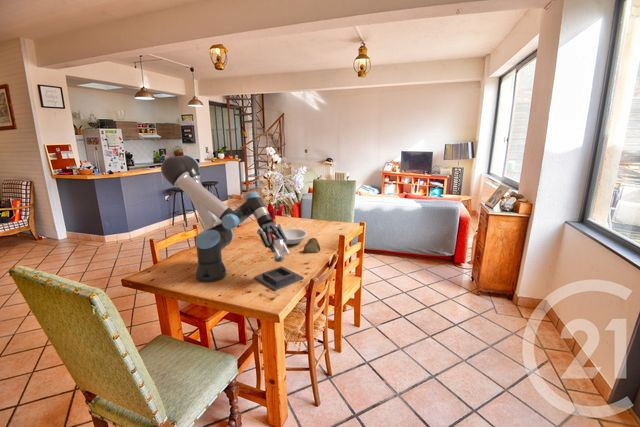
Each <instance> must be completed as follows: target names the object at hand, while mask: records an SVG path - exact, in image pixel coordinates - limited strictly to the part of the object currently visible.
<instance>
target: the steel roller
mask: <svg viewBox="0 0 640 427" xmlns="http://www.w3.org/2000/svg"><path fill="white" fill-rule="evenodd" d="M272 243H273V245H275V247H276V249H277V250H278V252H279V254H280V257H279V258H278V259H277V258H276V256H275V254H274V253H273V261H274V262H277V263H282V262H284V260H285V253H284V244H283V238H275V237H274V238H273V240H272Z"/></svg>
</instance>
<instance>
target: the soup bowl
mask: <svg viewBox="0 0 640 427" xmlns="http://www.w3.org/2000/svg"><path fill="white" fill-rule="evenodd" d="M281 229H282V231H283V232H284V234H285V236H286V238H287V240H286V241H285V243H286V245H296V244H299V243H301V242H302V241H303V240H304V239H305V238H306V237H308V231H306V230H304V229H301V228H281ZM277 232H278V231H277ZM271 234H272V233H271ZM272 238H274V239H275V238H276V237H275V236H274V235H273V234H272Z"/></svg>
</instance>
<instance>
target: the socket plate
mask: <svg viewBox="0 0 640 427" xmlns="http://www.w3.org/2000/svg"><path fill="white" fill-rule="evenodd" d="M254 279H255V280H256V281H258V282H259V283H262V284H263V285H264V286H267V287H270V288H269V289H271V290H272V291H274V292H275V291H278V290H281V289H283V288H285V287H288V286H291V285H292V284H295V283H297V281H298V282H300V281H302V280H304V279H305V278H304V276H302V275H301V274H298V273H296V272H294V271H292V270H290V269H288V268H287V267H284V266H279V267H275V268H274V269H270V270H266V271H265V272H262V273H261V274H258V275H255V276H254ZM299 280H300V281H299Z"/></svg>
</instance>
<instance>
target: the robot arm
mask: <svg viewBox="0 0 640 427" xmlns="http://www.w3.org/2000/svg"><path fill="white" fill-rule="evenodd" d="M160 171H161V174H162V176H163V177H164V179H165V180H166V182H168V183H169V184H170V185H172V186H173V187H174V188H179V189H180V190H182V191H183V192H184V193H185V194H186V195H188V197H189V198H190V201H191V203H192V204H193V206H194V208H195V210H196V212H197V215H198V216H199V218H200V220H201V222H202V224H203V226H204V228H203V231H201V232H199V233H198V234H197V235H196V237H195V246H196V253H197V266H196V270H195V279H196V280H197V281H198V282H202V283H212V282H216V281H219V280H222V279H223V278H225V277H226V276H227V268H226V266H225V264H224V262H223V258H222V257H223V256H222V251H223V250H224V249H225V248H226V247H227V246H229V245H230V243H231V242H233V239H234V231H233V229H235V228H237V227H239V226H240V225H241V224H242V223H243V222H244V221H246V219H248V218H249V217H250V216H252V215H253V216H254V217H253V218H255V220H256V222H257V224H258V226H259V228H258V229H257V231H256V233H257V235H258V236H259V237H260V239H261V241H262V242H263V245H264V247H265V248H268V249H270V251H271V253H273V255H274V254H275V256H276V258H277V259H278V258H279V257H280V254H279V252H278V250H277V249H276V247H275V245H273V240H272V236H273V235H274V236H275V237H276V238H283V244H284V256H286V257H287V256H288V255H289V254H290V250H289V248H288V244H286V243H285V241H286V240H287V238H286V236H285V234H284V232H283V231H282V229H283V228H282V226H281V224H280V223H278V224H276V223H274V221H273V220H274V219H273V218H272V216H271V215H270V213H269V211H268V208H267V207H266V205H265V203H264V201H263V199H262V197H261V195H260V194H259V193H258V191H250V192H248V193H246V195H245V196H244V199H245V201H244V202H243V203H242V204H241V205H239V206H238V207H237V208H235V209H232V208H231V207H230V206H228V205H227V204H226V203H225V202H224V201H222V200H220V199H219V198H218V197H217V196H215V195H214V194H213V193H212V192H210V191H209V190H208V189H207V188H205V187H204V186H203V184H202V182H201V180H200V178H201V174H200V164H199V162H198V160H196V158H195V157H193V156H190V155H185V154H182V155H178V156H169V157H167V158H165V159H164V160H163V161H162V162H161V164H160ZM277 231H278V232H277ZM271 234H273V235H272V236H271ZM275 237H274V238H275Z"/></svg>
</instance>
